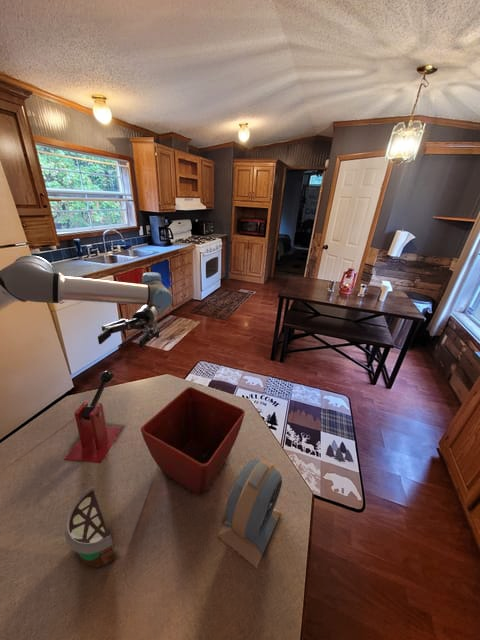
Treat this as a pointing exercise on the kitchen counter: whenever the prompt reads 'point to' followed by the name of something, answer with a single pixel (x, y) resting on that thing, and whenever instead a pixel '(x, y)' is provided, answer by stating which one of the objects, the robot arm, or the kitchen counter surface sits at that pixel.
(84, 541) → the multicoloured piece
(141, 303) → the robot arm
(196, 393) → the flower pot
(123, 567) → the kitchen counter surface
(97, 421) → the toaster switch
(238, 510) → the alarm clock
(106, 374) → the lever
